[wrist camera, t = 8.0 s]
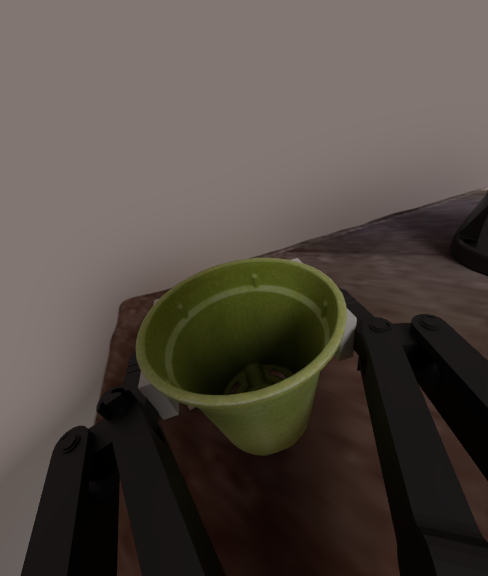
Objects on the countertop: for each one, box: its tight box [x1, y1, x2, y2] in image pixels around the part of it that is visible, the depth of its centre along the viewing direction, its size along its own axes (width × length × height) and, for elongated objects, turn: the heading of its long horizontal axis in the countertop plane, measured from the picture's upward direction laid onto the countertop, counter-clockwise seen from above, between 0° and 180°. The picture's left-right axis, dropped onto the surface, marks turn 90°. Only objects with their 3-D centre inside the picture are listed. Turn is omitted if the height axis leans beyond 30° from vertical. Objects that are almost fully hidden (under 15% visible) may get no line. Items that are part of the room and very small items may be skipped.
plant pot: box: [136, 258, 347, 456], centre depth 13 cm, size 9×9×9 cm
